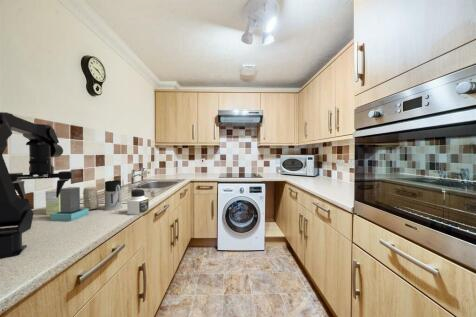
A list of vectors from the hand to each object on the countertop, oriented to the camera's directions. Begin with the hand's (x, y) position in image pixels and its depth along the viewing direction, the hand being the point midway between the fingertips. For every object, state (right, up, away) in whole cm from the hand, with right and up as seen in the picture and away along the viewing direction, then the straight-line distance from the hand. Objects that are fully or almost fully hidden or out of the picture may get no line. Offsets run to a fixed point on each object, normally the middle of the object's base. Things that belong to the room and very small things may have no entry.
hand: (41, 199), depth 76 cm
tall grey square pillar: (-5, -12, +19) cm, 22 cm away
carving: (-5, -13, +33) cm, 35 cm away
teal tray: (-5, -13, +19) cm, 23 cm away
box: (-19, -13, +28) cm, 36 cm away
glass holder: (+7, -13, +33) cm, 36 cm away
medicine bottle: (+23, -13, +27) cm, 38 cm away
